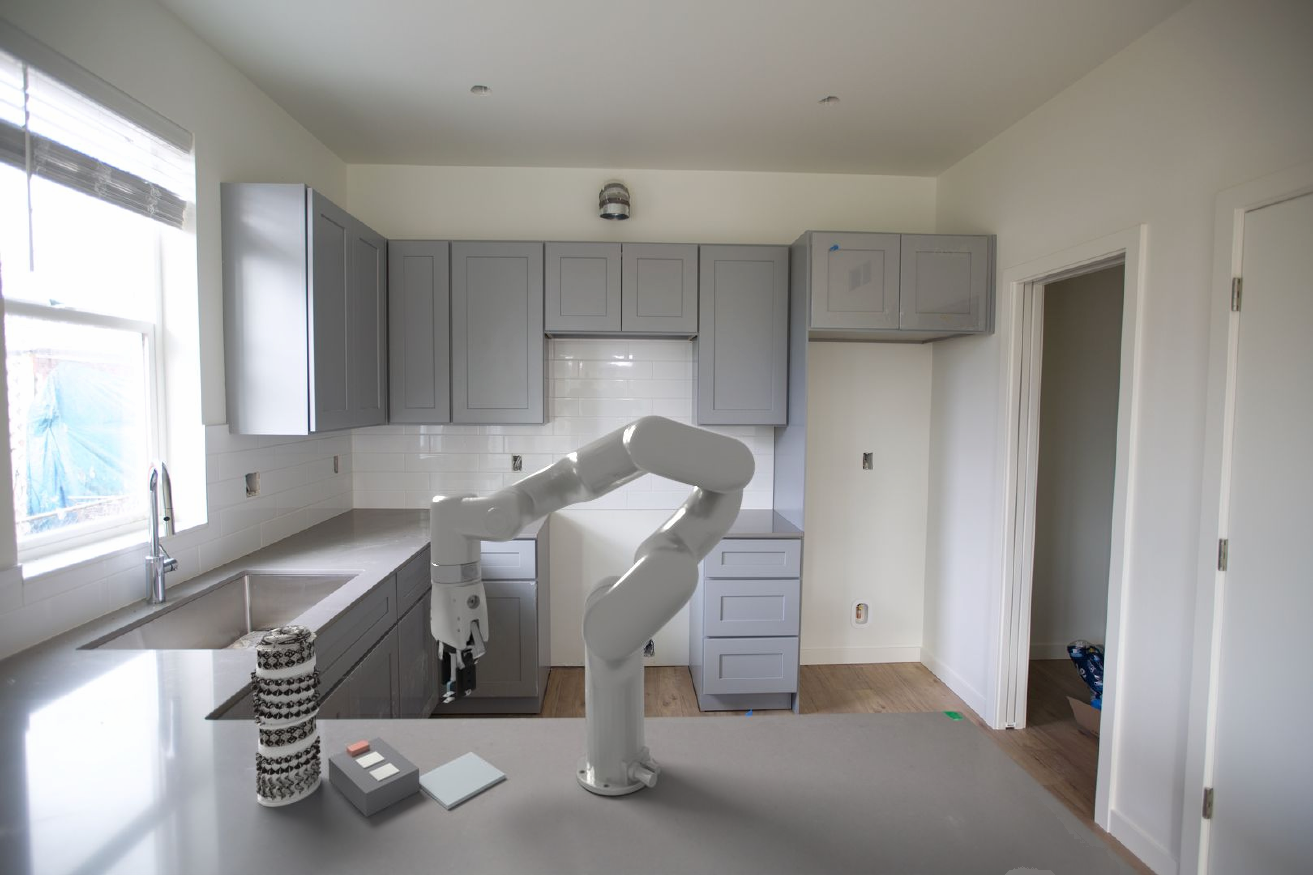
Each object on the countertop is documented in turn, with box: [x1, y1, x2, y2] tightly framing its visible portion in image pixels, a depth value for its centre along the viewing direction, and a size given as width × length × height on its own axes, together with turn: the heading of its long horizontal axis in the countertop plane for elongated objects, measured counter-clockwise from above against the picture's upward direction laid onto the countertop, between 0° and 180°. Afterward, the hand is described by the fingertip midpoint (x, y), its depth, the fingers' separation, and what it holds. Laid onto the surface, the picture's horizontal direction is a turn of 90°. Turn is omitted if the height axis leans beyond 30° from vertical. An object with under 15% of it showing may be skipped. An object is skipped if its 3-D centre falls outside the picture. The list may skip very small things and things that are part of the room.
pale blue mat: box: [419, 751, 506, 810], centre depth 93 cm, size 10×10×1 cm
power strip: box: [327, 736, 420, 818], centre depth 92 cm, size 14×8×4 cm, turn 49°
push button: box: [442, 641, 477, 704], centre depth 92 cm, size 7×5×10 cm
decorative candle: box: [250, 624, 322, 808], centre depth 91 cm, size 9×9×25 cm
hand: (458, 684), depth 92 cm, fingers closed on push button, 3 cm apart
